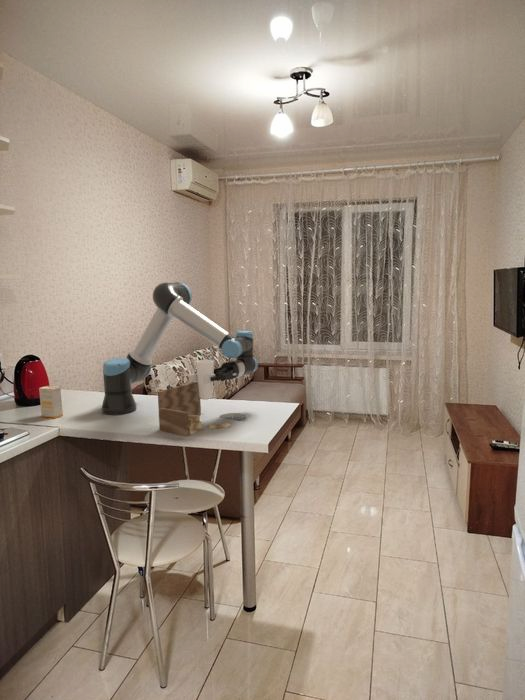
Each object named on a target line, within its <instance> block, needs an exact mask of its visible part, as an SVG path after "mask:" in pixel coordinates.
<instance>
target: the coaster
mask: <svg viewBox="0 0 525 700" xmlns="http://www.w3.org/2000/svg"><path fill="white" fill-rule="evenodd" d="M218 418H220V419H227V420H232V421H238V422H239V421H243V420H245V419H246V414H244V413H239V412H228V413H224V414H223V413H222V414H220V415H219V417H218ZM244 418H245V419H244Z"/></svg>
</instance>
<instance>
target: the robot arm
mask: <svg viewBox="0 0 525 700" xmlns="http://www.w3.org/2000/svg"><path fill="white" fill-rule="evenodd" d="M192 295H193V294H192V291H191V289H190V288H189V286H188V285H187V284H185V283H183V282H180V281H179V282H178V281H174V282H161V283H159V284H158V285H157V286H156V287H155V288H154V289H153V292H152V300H153V303H154V304H155V306H156V307H157V308H156V310H155V311H154V313H153V315H152V317H151V319H150V320H149V323H148V324H147V327H146V328H145V330H144V332H143V333H142V335H141V337H140V339H139V341H138V343H137V344H136V346H135V348H134V349H130V351H129V352H128V354H127V355H126V356H125V357H115V358H110V359H107V360H106V361H104V362H103V366H102V373H103V374H102V375H103V387H104V397H103V400H102V404H101V413H102V414H104V415H109V414H110V416H111V415H112V416H114V415H115V416H116V414H118V415H124V413H126V414H129V412H130V413H133V412H135V411H136V410H137V404H136V401H135V398H134V396H133V394H132V384H134V383H136V382H137V383H138V382H141V381H142V380H144V379H146V378H147V377H148V376H149V375H150V374H151V371H152V363H153V360H152V359H153V355H154V354H155V351H156V350H157V348H158V346H159V344H160V343H161V342H162V340H163V338H164V336H165V334H166V332H167V331H168V329H169V328H170V326H171V324H172V322H173V320H174V319H175V318H176V319H177V320H179V322H182V323H183V324H184V325H185V326H187V327H188V328H190V329H192V330H193V331H195V332H196V333H197V334H199V335H200V336H202V337H203V338H204V339H205V340H207V341H208V342H209V343H212V345H214V346H216V347H217V348H218V349H220V350H221V352H222V354H223V356H224V357H226V358H228V359H234V358H235V359H234V360H229V361H226V362H223V363H222V364H221V365H220V366H219V367H216V368H215V367H214V374H213V375H209V376H205V377H203V379H204V384H207V383H211V382H213V383H214V382H219V381H221V382H224V381H231V380H234V379H235V380H236V379H238V378H241V377H244V376H247V375H250V374H253V373H255V372H256V371H257V369H258V367H259V364H258V360H257V359H256V358H255V357H254V333H253V331H251V330H237V331H236V333H235V336H234V335H233V334H231V333H230V332H228V331H227V330H226V329H224V328H223V327H221V326H220V325H218V324H217V323H215V322H214V321H213V320H211V319H209V317H207V316H206V315H204V314H202V313H201V312H199V311H198V310H196V309H195V308H194V307H192V306H191V305H190V304H191V302H192V298H193V296H192ZM188 380H189V381H188V383H192V382H195V381H198V379H197V370H196V371H195V373H192V374H189V375H188ZM134 410H135V411H134ZM132 411H133V412H132Z"/></svg>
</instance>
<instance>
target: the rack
mask: <svg viewBox="0 0 525 700" xmlns="http://www.w3.org/2000/svg"><path fill="white" fill-rule="evenodd" d="M200 403H201V399H200V398H199V388H198V380H197V381H193V382H188V383H186V384H183V385H179V386H175V387H172V388H168V389H164V390H161V391H157V406H158V422H159V423H158V424H159V425H158V426H159V431H160V432H164V433H168V434H173V435H178V436H184V437H188V436H190V435H189V418H188V414H190V415H199V416H202V415H201V413H202V406H201V405H200ZM203 430H204V428H202V430H201V431H203Z"/></svg>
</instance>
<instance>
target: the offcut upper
mask: <svg viewBox="0 0 525 700" xmlns="http://www.w3.org/2000/svg"><path fill="white" fill-rule="evenodd" d="M200 416H201V415H200ZM200 416H199V415H190V414H188V418H189V426H193V425H195V424H197V423H199V422H201V418H200Z"/></svg>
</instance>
